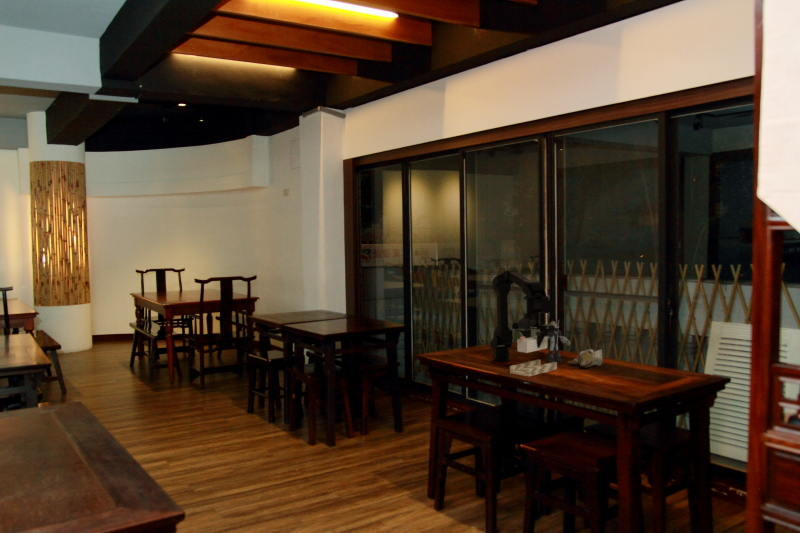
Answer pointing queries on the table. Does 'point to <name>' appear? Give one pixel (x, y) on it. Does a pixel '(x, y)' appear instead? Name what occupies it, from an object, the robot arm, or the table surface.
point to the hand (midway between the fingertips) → (533, 346)
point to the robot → (555, 343)
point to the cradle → (532, 368)
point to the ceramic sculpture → (588, 358)
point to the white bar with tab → (530, 344)
